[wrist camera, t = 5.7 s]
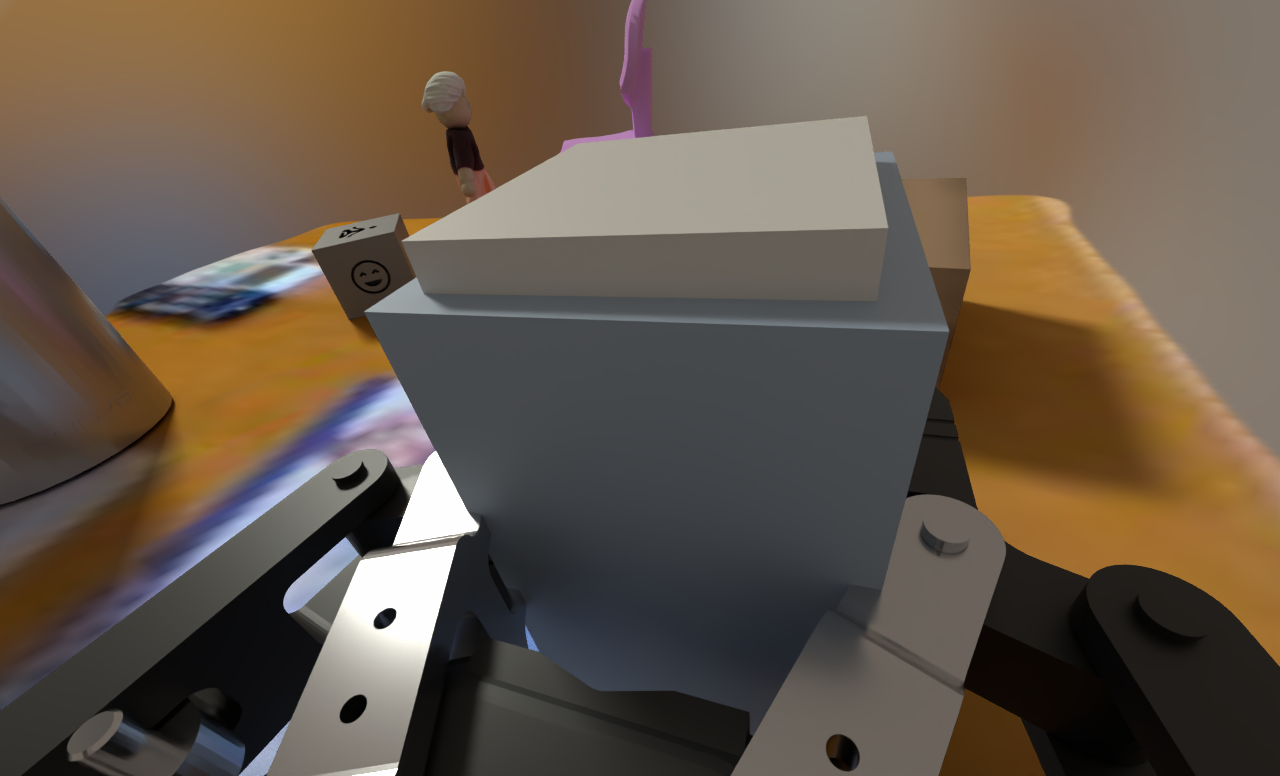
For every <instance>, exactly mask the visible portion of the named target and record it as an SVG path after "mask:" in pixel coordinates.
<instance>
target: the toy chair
mask: <svg viewBox="0 0 1280 776" xmlns="http://www.w3.org/2000/svg"><path fill="white" fill-rule="evenodd" d="M645 10H646V0H632V1H631V4H630V7H629V10H628V14H627V19H626V26H625V56H624V64H623V70H622V75H621V79H620V87H621V94H622V97H623V99H624V102H625V103H626V104H627V105H629V106H630V107H631V110H632V117H633V130H630V131H627V132H623V133H619V134H614V135H607V136H601V137H591V138H579V139H573V140H567V141H564V143H563V147H562V150H561V152H560V153H562V152H563V151H565V150H567V149H569V148H571V147H573V146H574V145H576V144H578V143H589V142H599V141H610V140H620V139H631V138H641V137H652V136H654V135H653V132H652V49H651V48H644V49H642V41H643V29H644V19H645ZM560 153H559V154H560Z"/></svg>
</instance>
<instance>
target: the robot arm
mask: <svg viewBox="0 0 1280 776" xmlns="http://www.w3.org/2000/svg"><path fill="white" fill-rule="evenodd" d="M171 402H172V396H171V394H170V392H169V391H168V390H167V389H166V388H165V387H164V385H163V384H162V383H161V382H160V381H159V380H158V378H157V377H156V376H155V375H154V374H153V373H152V372H151V370H150V369H149V368H148V367H147V366H146V365H145V363H144V362H143V361H142V360H141V359H140V358H139V357H138V355H137V354H136V353H135V352H134V351H133V350H132V348H131V347H130V346H129V345H128V344H127V343H126V342H125V340H124V339H123V338H122V337H121V335H120V334H119V333H118V332H117V330H116V329H115V328H114V327H113V326H112V325H111V323H110V322H109V321H108V320H107V319H106V318H105V317H104V315H103V314H102V313H101V312H100V311H99V310H98V309H97V307H96V306H95V305H94V304H93V303H92V302H91V301H90V299H89V298H88V297H87V296H86V295H85V293H84V292H83V291H82V290H81V289H80V288H79V287H78V285H77V284H76V283H75V282H74V281H73V280H72V278H71V277H70V276H69V275H68V274H67V273H66V272H65V270H64V269H63V268H62V267H61V266H60V265H59V263H58V262H57V261H56V260H55V259H54V258H53V256H52V255H51V254H50V253H49V252H48V251H47V250H46V248H45V247H44V246H43V245H42V244H41V243H40V241H39V240H38V239H37V238H36V237H35V236H34V235H33V233H32V232H31V231H30V230H29V229H28V228H27V226H26V225H25V224H24V223H23V222H22V221H21V220H20V218H19V217H18V216H17V215H16V214H15V213H14V211H13V210H12V209H11V208H10V207H9V206H8V205H7V203H6V202H5V201H4V200H3V199H2V198H1V196H0V505H1V504H5V503H8V502H12V501H15V500H18V499H20V498H23V497H26V496H29V495H31V494H34V493H37V492H40V491H42V490H44V489H47V488H49V487H51V486H54V485H56V484H58V483H61V482H63V481H65V480H67V479H70V478H72V477H74V476H76V475H78V474H79V473H81V472H83V471H85V470H87V469H89V468H91V467H93V466H95V465H97V464H99V463H100V462H102V461H104V460H106V459H107V458H109V457H111V456H112V455H114V454H116V453H118V452H119V451H121V450H122V449H124V448H125V447H127V446H128V445H130V444H131V443H132V442H134V441H135V440H137V439H138V438H140V437H141V436H142V435H143V434H145V433H146V432H147V431H148V430H150V429H151V428H152V427H153V426H154V425H155V424H156V423H157V422H158V421H159V420H160V419H161V418H162V417H163V416H164V415H165V414H166V412H167V411H168V409H169V407H170V406H171ZM958 438H959V437H958V433H957V429H956V425H954V418H953V414H952V410H951V406H950V402H949V400H948V399H947V398H946V397H945V396H944V395H943V394H942V393H941V392H940V391H939V390H938V389H937V388H936V387H935V389H934V393H933V397H932V401H931V404H930V408H929V412H928V416H927V420H926V424H925V427H924V431H923V435H922V439H921V443H920V447H919V450H918V454H917V458H916V462H915V466H914V470H913V474H912V477H911V481H910V485H909V489H908V493H907V497H906V500H905V504H904V508H903V512H902V516H901V520H900V523H899V527H898V531H897V535H896V539H895V543H894V546H893V550H892V554H891V558H890V562H889V566H888V569H887V573H886V577H885V581H884V585H883V589H882V590H879V589H873V588H868V587H863V586H858V585H852V584H851V585H850V586H849V588H848V590H847V592H846V594H845V595H844V597H843V599H842V601H841V602H840V604H839V606H838V607H837V608H836V609H835V610H834V611H832V610H829V611H827V612H826V613H825V614H824V616H823V617H822V618H821V620H820V621H819V623H818V624H817V626H816V628H815V629H814V631H813V633H812V635H811V636H810V638H809V640H808V642H807V643H806V645H805V647H804V649H803V650H802V652H801V654H800V656H799V657H798V659H797V661H796V663H795V664H794V666H793V668H792V669H791V671H790V673H789V675H788V676H787V678H786V680H785V682H784V683H783V685H782V687H781V689H780V690H779V692H778V694H777V696H776V697H775V699H774V701H773V703H772V704H771V706H770V708H769V710H768V711H767V713H766V715H765V717H764V718H763V720H762V722H761V724H760V725H759V727H758V729H757V731H756V732H755V734H754V736H752V735H751V734H750V714H749V712H748V711H744V710H740V709H737V708H733V707H730V706H726V705H723V704H719V703H716V702H712V701H709V700H705V699H702V698H698V697H695V696H691V695H688V694H684V693H681V692H677V691H599V690H596V689H593V688H591V687H590V686H588V685H587V684H585V683H584V682H582V681H581V680H579V679H578V678H576V677H575V676H573V675H572V674H571V673H569V672H568V671H566V670H565V669H563V668H562V667H560V666H559V665H557V664H556V663H554V662H553V661H552V660H550V659H549V658H547V657H546V656H544V655H543V654H541V653H540V652H537V651H533V650H530V649H528V644H527V639H526V632H525V619H526V609H527V605H526V603H525V601H524V599H523V596H522V594H521V592H520V591H519V590H515V589H511V588H507V587H506V586H505V584H504V582H503V580H502V578H501V576H500V575H499V573H498V571H497V569H496V567H495V565H494V563H493V561H492V559H491V557H490V555H489V553H488V550H489V544H490V539H491V532H490V530H489V528H488V526H487V524H486V522H485V520H484V518H483V516H482V514H478V513H473V512H468V511H466V509H465V507H464V505H463V503H462V501H461V499H460V497H459V495H458V493H457V491H456V489H455V487H454V485H453V483H452V482H451V480H450V478H449V476H448V474H447V472H446V470H445V468H444V466H443V464H442V462H441V460H440V458H439V456H438V454H437V452H436V451H435V452H434V453H433V454H432V455H431V456H430V457H429V458H428V460H427V461H426V463H425V464H423V465H416V466H408V467H400V468H393V466H392V464H391V463H390V461H389V459H388V458H387V456H386V454H385V453H384V452H382V451H380V450H376V449H365V450H360V451H356V452H353V453H350V454H348V455H345V456H343V457H341V458H340V459H338V460H336V461H334V462H333V463H332V464H330V465H329V466H327V467H326V468H325V469H323V470H322V471H321V472H319V473H318V474H317V475H315V476H314V477H313V478H311V479H310V480H309V481H307V482H306V483H305V484H303V485H302V486H301V487H299V488H298V489H297V490H295V491H294V492H293V493H291V494H290V495H289V496H287V497H286V498H285V499H283V500H282V501H281V502H279V503H278V504H277V505H275V506H274V507H273V508H271V509H270V510H269V511H267V512H266V513H265V514H263V515H262V516H261V517H259V518H258V519H257V520H255V521H254V522H252V523H251V524H250V525H248V526H247V527H246V528H244V529H243V530H242V531H240V532H239V533H238V534H236V535H235V536H234V537H232V538H231V539H230V540H228V541H227V542H226V543H224V544H223V545H222V546H220V547H219V548H218V549H216V550H215V551H214V552H212V553H211V554H210V555H208V556H207V557H206V558H204V559H203V560H202V561H200V562H199V563H198V564H196V565H195V566H194V567H192V568H191V569H190V570H188V571H187V572H186V573H184V574H183V575H182V576H180V577H179V578H178V579H176V580H175V581H174V582H172V583H171V584H170V585H168V586H167V587H166V588H164V589H163V590H162V591H160V592H159V593H158V594H156V595H155V596H154V597H152V598H151V599H150V600H148V601H147V602H146V603H144V604H143V605H142V606H140V607H139V608H138V609H136V610H135V611H133V612H132V613H131V614H129V615H128V616H127V617H125V618H124V619H123V620H121V621H120V622H119V623H117V624H116V625H115V626H113V627H112V628H111V629H109V630H108V631H107V632H105V633H104V634H103V635H101V636H100V637H99V638H97V639H96V640H95V641H93V642H92V643H91V644H89V645H88V646H87V647H85V648H84V649H83V650H81V651H80V652H79V653H77V654H76V655H75V656H73V657H72V658H71V659H69V660H68V661H67V662H65V663H64V664H63V665H61V666H60V667H59V668H57V669H56V670H55V671H53V672H52V673H51V674H49V675H48V676H47V677H45V678H44V679H43V680H41V681H40V682H39V683H37V684H36V685H35V686H33V687H32V688H31V689H29V690H28V691H27V692H25V693H24V694H23V695H21V696H20V697H19V698H17V699H16V700H15V701H13V702H12V703H10V704H9V705H8V706H6V707H5V708H4V709H2V710H1V711H0V776H239V774H240V773H241V772H242V771H243V770H244V769H245V768H246V767H247V766H248V765H249V764H250V763H251V762H252V761H253V759H254V758H255V757H256V756H257V755H258V754H259V753H260V752H261V751H262V750H263V749H264V748H265V747H266V746H267V745H268V743H269V742H270V741H271V740H272V739H273V738H274V737H275V736H276V735H277V734H278V733H279V732H280V731H281V730H282V728H283V727H284V726H285V725H286V724H287V723H288V722H289V721H290V720H291V721H290V723H289V725H288V728H287V730H286V732H285V735H284V737H283V739H282V742H281V744H280V746H279V748H278V751H277V753H276V755H275V758H274V760H273V762H272V764H271V767H270V769H269V771H268V773H267V774H266V775H264V776H938V775H939V772H940V769H941V766H942V763H943V760H944V757H945V754H946V751H947V748H948V745H949V742H950V739H951V736H952V732H953V729H954V726H955V723H956V720H957V717H958V714H959V711H960V707H961V704H962V700H963V697H964V692H965V688H966V689H968V690H970V691H972V692H973V693H975V694H977V695H979V696H981V697H983V698H985V699H987V700H988V701H990V702H992V703H994V704H996V705H998V706H1000V707H1002V708H1003V709H1005V710H1007V711H1009V712H1011V713H1013V714H1015V715H1017V716H1018V717H1020V718H1021V719H1022V722H1023V724H1024V726H1025V729H1026V731H1027V733H1028V736H1029V738H1030V740H1031V742H1032V745H1033V747H1034V749H1035V752H1036V754H1037V756H1038V759H1039V761H1040V763H1041V766H1042V768H1043V770H1044V772H1045V775H1046V776H1280V667H1279V665H1278V664H1277V663H1276V662H1275V661H1274V660H1273V658H1272V657H1271V656H1270V655H1269V654H1268V653H1267V652H1266V650H1265V649H1264V648H1263V647H1262V646H1261V645H1260V643H1259V642H1258V641H1257V640H1256V639H1255V638H1254V637H1253V635H1252V634H1251V633H1250V632H1249V631H1248V630H1247V628H1246V627H1245V626H1244V625H1243V624H1242V623H1241V622H1240V621H1239V620H1238V619H1237V617H1236V616H1235V615H1234V614H1233V613H1232V612H1231V611H1229V610H1228V609H1227V608H1226V607H1225V606H1224V605H1222V604H1221V603H1220V602H1219V601H1217V600H1216V599H1215V598H1213V597H1212V596H1210V595H1209V594H1207V593H1206V592H1204V591H1203V590H1201V589H1199V588H1197V587H1196V586H1194V585H1192V584H1190V583H1188V582H1186V581H1184V580H1182V579H1180V578H1178V577H1175V576H1173V575H1170V574H1168V573H1165V572H1162V571H1158V570H1155V569H1152V568H1147V567H1142V566H1136V565H1113V566H1108V567H1105V568H1102V569H1100V570H1098V571H1097V572H1095V573H1094V574H1093V575H1092V576H1091V578H1090V579H1088V578H1086V577H1083V576H1081V575H1078V574H1075V573H1073V572H1070V571H1067V570H1065V569H1062V568H1059V567H1057V566H1054V565H1052V564H1049V563H1046V562H1044V561H1041V560H1039V559H1036V558H1034V557H1032V556H1029V555H1027V554H1025V553H1023V552H1021V551H1020V550H1018V549H1016V548H1014V547H1013V546H1011V545H1010V544H1008V543H1007V542H1005V541H1004V539H1003V536H1002V535H1001V533H1000V531H999V529H998V528H997V527H996V526H995V525H994V523H993V522H992V521H991V520H990V519H989V518H987V517H986V516H985V515H984V514H983V513H981V512H980V511H978V508H977V506H976V502H975V498H974V494H973V490H972V487H971V483H970V479H969V475H968V471H967V467H966V464H965V460H964V456H963V452H962V448H961V445H960V442H958ZM345 537H346V538H347V539H348V540H349V542H350V543H351V544H352V546H353V547H354V548H355V550H356V551H357V552H358V553H359V555H358V556H357V557H356V558H355V559H354V560H353V561H352V562H351V563H350V564H349V565H348V566H346V567H345V568H344V569H343V570H342V571H341V572H340V573H339V574H338V575H337V576H336V577H335V578H333V579H332V580H331V581H330V582H329V583H328V584H327V585H326V586H325V587H324V588H323V589H322V590H320V591H319V592H318V593H317V594H316V595H315V596H314V597H313V598H312V599H311V600H310V601H309V602H308V603H306V604H305V605H304V606H303V607H302V608H301V609H299V610H297V611H295V612H293V613H290V614H288V613H287V612H286V610H285V609H284V606H283V600H284V596H285V594H286V592H287V590H288V588H289V587H290V586H291V585H292V584H293V583H294V582H295V581H296V580H297V579H298V578H299V577H300V576H301V575H302V574H304V573H305V572H306V571H307V570H308V569H309V568H310V567H312V566H313V565H314V564H315V563H316V562H317V561H318V560H320V559H321V558H322V557H323V556H324V555H325V554H326V553H328V552H329V551H330V550H331V549H332V548H333V547H334V546H335V545H337V544H338V543H339V542H340V541H341V540H342V539H343V538H345Z"/></svg>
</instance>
